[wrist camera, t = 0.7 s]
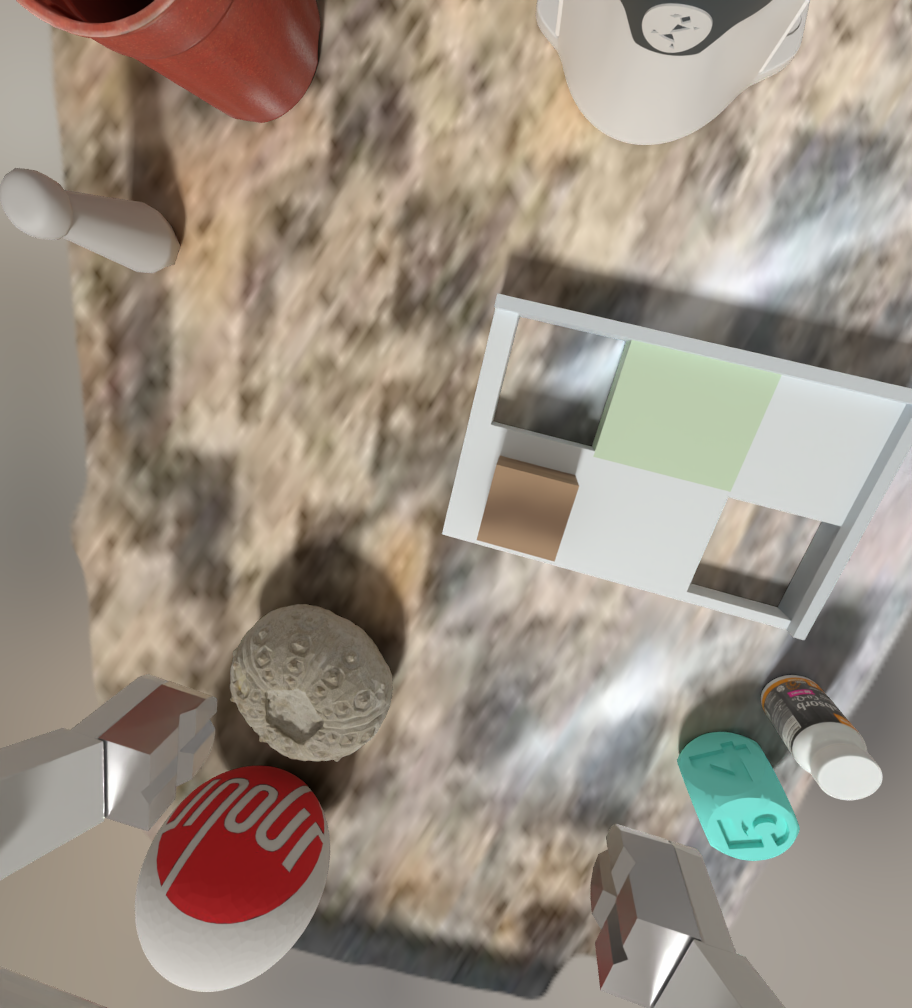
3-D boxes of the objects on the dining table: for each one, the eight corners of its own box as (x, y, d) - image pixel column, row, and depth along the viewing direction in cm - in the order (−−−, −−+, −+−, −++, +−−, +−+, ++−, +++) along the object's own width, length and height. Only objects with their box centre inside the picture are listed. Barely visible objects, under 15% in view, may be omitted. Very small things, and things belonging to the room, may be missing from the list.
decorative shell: (263, 704, 59) (211, 769, 50) (255, 578, 54) (195, 623, 44) (399, 730, 57) (372, 803, 47) (405, 600, 52) (375, 653, 42)
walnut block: (499, 455, 43) (496, 464, 39) (575, 475, 42) (579, 486, 38) (481, 525, 45) (476, 539, 41) (552, 544, 44) (554, 561, 40)
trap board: (500, 299, 41) (497, 293, 38) (902, 392, 38) (939, 395, 35) (446, 525, 48) (439, 538, 45) (783, 619, 45) (804, 640, 42)
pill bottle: (826, 675, 46) (900, 755, 37) (813, 723, 48) (881, 810, 38) (763, 669, 47) (820, 745, 38) (752, 716, 49) (804, 800, 39)
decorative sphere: (370, 763, 59) (292, 951, 40) (337, 865, 65) (257, 1070, 46) (227, 707, 60) (86, 865, 41) (209, 814, 67) (79, 992, 48)
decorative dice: (669, 740, 51) (692, 806, 44) (746, 722, 49) (784, 787, 41) (694, 796, 53) (720, 868, 45) (769, 780, 51) (810, 853, 43)
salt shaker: (170, 198, 43) (25, 133, 31) (198, 262, 45) (70, 223, 32) (122, 226, 45) (-34, 174, 32) (151, 286, 46) (11, 259, 34)
